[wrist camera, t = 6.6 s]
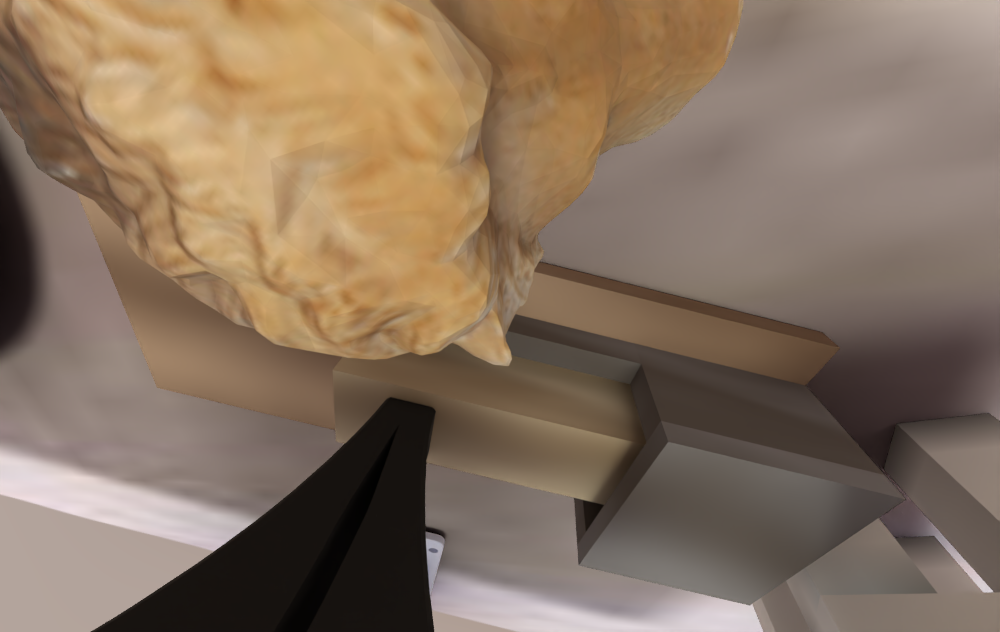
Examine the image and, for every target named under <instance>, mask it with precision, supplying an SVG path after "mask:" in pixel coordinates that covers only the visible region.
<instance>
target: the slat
mask: <svg viewBox="0 0 1000 632" xmlns="http://www.w3.org/2000/svg"><path fill="white" fill-rule="evenodd" d="M511 356H512V355H511ZM333 390H334V411H335V432H336V442H340V443H346V442H347V441H348V440H349V439H350V438H351V437H352V436H353V435H354V434H355V433H356V432H357V431H358V430H359V429H360V428H361V427H362V426H363V425H364V424H365V423H366V422H367V421H368V420H369V418H370V417H371V416H372V415H373V414H374V413H375V412H376V411H377V410H378V408H379V407H380V406H381V405H382V404H383V402H384V401H385V400H386V399H388V398H390V397H392V398H396V399H400V400H404V401H408V402H413V403H417V404H421V405H425V406H429V407H433V408H434V410H435V411H436V413H435V419H434V425H433V431H432V436H431V442H430V448H429V453H428V456H427V460H426V463H429V464H434V465H438V466H442V467H446V468H450V469H455V470H459V471H463V472H467V473H472V474H476V475H480V476H484V477H488V478H493V479H497V480H501V481H505V482H510V483H514V484H518V485H522V486H527V487H531V488H535V489H539V490H543V491H548V492H552V493H556V494H560V495H565V496H569V497H573V498H577V499H582V500H586V501H590V502H594V503H598V504H603V505H605V503H606V502H607V500H608V499H609V497H610V496H611V494H612V493H613V491H614V490H615V488H616V487H617V485H618V484H619V482H620V481H621V479H622V478H623V476H624V475H625V474H626V472H627V471H628V469H629V468H630V466H631V465H632V463H633V462H634V460H635V459H636V457H637V456H638V454H639V453H640V451H641V450H642V448H643V447H644V445H645V444H646V439H645V436H644V432H643V429H642V425H641V422H640V418H639V415H638V411H637V407H636V404H635V400H634V397H633V393H632V390H631V386H630V384H627V383H623V382H618V381H614V380H610V379H606V378H602V377H598V376H594V375H590V374H586V373H582V372H577V371H573V370H569V369H565V368H561V367H557V366H553V365H549V364H545V363H541V362H537V361H532V360H528V359H524V358H520V357H516V356H512V360H511V362H510V365H509V366H501V365H493V364H491V363H489V362H487V361H484V360H482V359H480V358H478V357H476V356H473V355H472V354H470V353H469V352H467V351H466V350H464V349H463V348H461V347H460V346H458V345H456V344H454V343H451V344H449V345H448V346H446V347H445V348H444V349H442V350H441V351H439V352H437V353H432V354H427V355H423V356H421V355H418V354H415V353H412V352H409V353H405V354H402V355H398V356H395V357H391V358H388V359H376V360H373V359H358V358H346V357H342V358H341V360H340V361H339V362H338V363H337V365H336V366H335V367H334V369H333Z"/></svg>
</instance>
